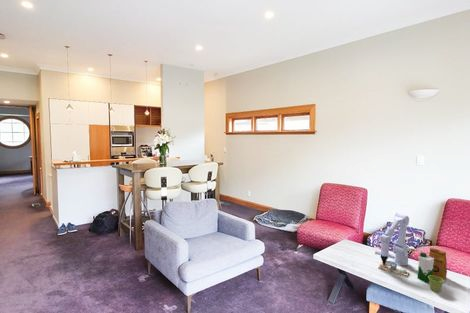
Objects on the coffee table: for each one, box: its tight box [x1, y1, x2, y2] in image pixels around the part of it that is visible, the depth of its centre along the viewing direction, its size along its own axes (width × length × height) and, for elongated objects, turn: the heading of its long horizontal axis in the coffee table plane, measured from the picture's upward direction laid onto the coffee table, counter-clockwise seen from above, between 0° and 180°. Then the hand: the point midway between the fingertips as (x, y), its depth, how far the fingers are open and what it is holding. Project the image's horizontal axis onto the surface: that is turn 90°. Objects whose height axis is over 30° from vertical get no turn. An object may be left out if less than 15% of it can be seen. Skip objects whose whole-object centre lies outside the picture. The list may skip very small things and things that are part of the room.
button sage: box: [399, 268, 407, 274], centre depth 222 cm, size 4×4×3 cm
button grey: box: [390, 264, 397, 271], centre depth 227 cm, size 4×4×3 cm
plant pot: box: [428, 275, 445, 293], centre depth 199 cm, size 9×9×9 cm
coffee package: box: [428, 247, 448, 281], centre depth 219 cm, size 10×12×22 cm
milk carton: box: [417, 252, 434, 283], centre depth 213 cm, size 9×9×20 cm
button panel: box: [377, 263, 410, 278], centre depth 227 cm, size 21×8×2 cm, turn 50°
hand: (384, 264), depth 231 cm, fingers closed, pressing on button terracotta
